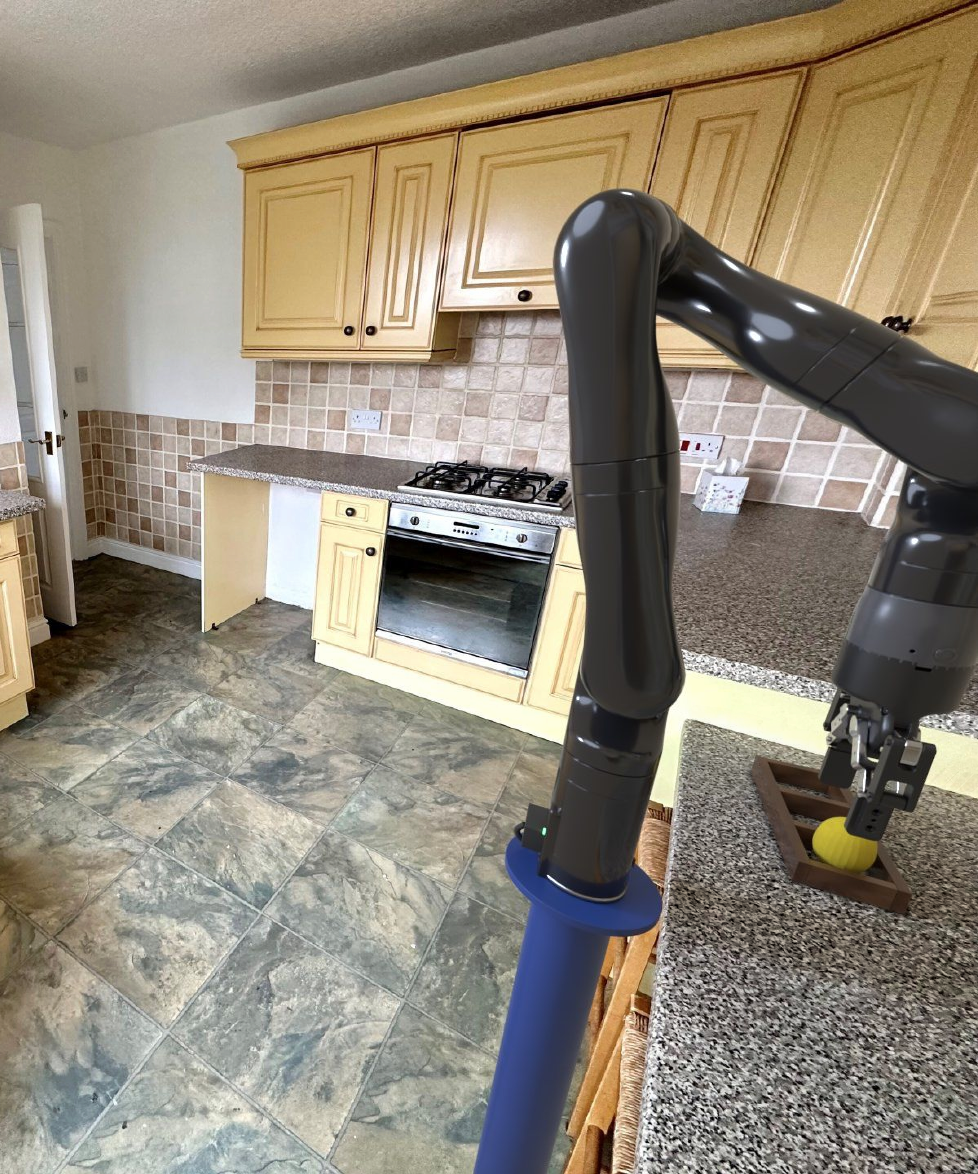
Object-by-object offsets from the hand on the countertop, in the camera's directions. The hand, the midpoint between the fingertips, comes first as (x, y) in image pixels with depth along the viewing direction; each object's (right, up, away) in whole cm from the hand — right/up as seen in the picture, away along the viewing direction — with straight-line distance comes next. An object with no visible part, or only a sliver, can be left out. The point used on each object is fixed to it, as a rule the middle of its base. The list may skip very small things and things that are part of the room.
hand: (846, 808), depth 57 cm
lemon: (+22, -16, +22) cm, 35 cm away
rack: (+26, -14, +29) cm, 42 cm away
